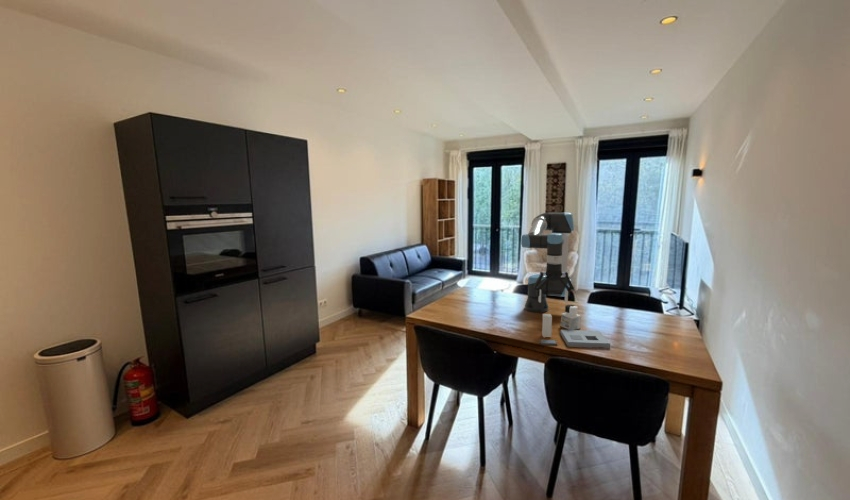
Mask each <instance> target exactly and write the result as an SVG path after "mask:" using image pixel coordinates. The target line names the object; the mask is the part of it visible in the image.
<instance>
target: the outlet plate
mask: <svg viewBox="0 0 850 500" xmlns="http://www.w3.org/2000/svg"><path fill="white" fill-rule="evenodd" d="M560 335H561V337H562V339H563V341H564V343H565V345H566V346H567V347H570V348H571V347H573V348H592V347H604V348H603V349H611V342H610V341H609V340H608V339H607V338H606V336H605V335H603V333H602V332H601V331H600V330H587V329H586V330H582V329H581V330H580V329H575V330H568V329H560Z"/></svg>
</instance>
